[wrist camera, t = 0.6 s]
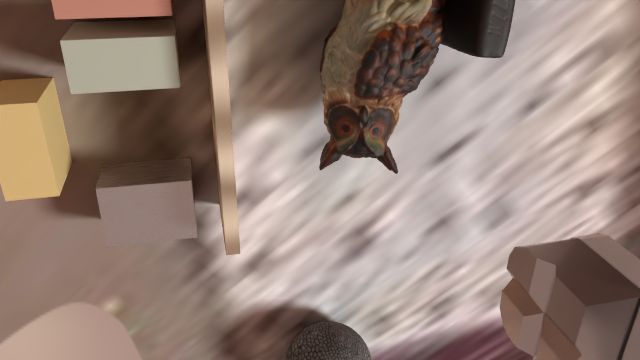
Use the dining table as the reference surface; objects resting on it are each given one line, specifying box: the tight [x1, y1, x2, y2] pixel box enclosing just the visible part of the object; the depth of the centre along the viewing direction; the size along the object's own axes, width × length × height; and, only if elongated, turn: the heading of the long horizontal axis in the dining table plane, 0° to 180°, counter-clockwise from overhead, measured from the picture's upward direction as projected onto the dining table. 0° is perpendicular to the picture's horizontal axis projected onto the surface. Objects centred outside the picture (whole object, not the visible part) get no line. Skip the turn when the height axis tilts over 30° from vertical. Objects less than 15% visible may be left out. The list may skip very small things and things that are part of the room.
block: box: [96, 158, 197, 247], centre depth 51 cm, size 6×8×5 cm
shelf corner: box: [202, 0, 240, 255], centre depth 44 cm, size 26×15×9 cm, turn 179°
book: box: [0, 78, 72, 201], centre depth 45 cm, size 4×8×6 cm, turn 179°
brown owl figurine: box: [319, 0, 515, 174], centre depth 46 cm, size 15×11×25 cm
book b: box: [60, 19, 180, 94], centre depth 43 cm, size 4×8×6 cm, turn 89°
